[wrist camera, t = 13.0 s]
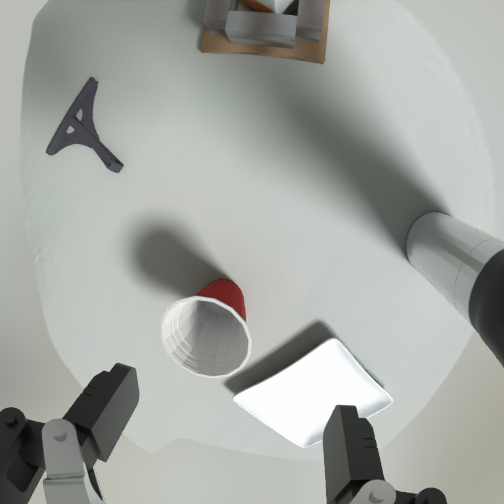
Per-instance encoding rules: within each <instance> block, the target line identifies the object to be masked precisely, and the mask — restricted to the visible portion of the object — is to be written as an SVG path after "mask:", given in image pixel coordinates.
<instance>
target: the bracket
mask: <svg viewBox="0 0 504 504" xmlns="http://www.w3.org/2000/svg"><path fill="white" fill-rule="evenodd" d="M97 83H98V82H96V81H94V78H92V77H91V78H90V79H89V81H88V82H87V84H86V85H85V86H84V88H83V89H82V91H81V92H80V94H79V95H78V97H77V98H76V100H75V101H74V103H73V105H72V106H71V108H70V109H69V111H68V113H67V114H66V116H65V118H64V119H63V121H62V123H61V124H60V126H59V128H58V130H57V131H56V133H55V135H54V137H53V139H52V141H51V142H50V144H49V146H48V148H47V150H46V153H47V154H48V155H51V156H52V155H53V154H56V153H57V152H59V151H60V150H61V149H63V148H64V147H66V146H69V145H72V144H82V145H86V146H88V147H90V148H93V149H94V151H95V152H96V153H97V154H98V156H99V157H100V158H101V160H102V161H103V163H104V164H105V166H106V167H107V168H108V169H109V170H111V171H113V172H115V173H119V172H120V170H121V169H122V167H123V166H124V165H123V164H122V163H121V162H120V161H119V160H118V159H117V158H116V157H115V156H114V155H113V154H112V153H111V152H110V151H109V150H108V149H107V148H106V147H105V146H104V145H103V144H102V143H101V142H100V141H99V137H98V135H97V133H96V130H95V127H94V124H93V119H92V109H93V101H94V97H95V93H96V90H97V87H98V86H97ZM80 108H81V109H82V111H83V116H82V120H81V122H80V121H79V120H78V118H77V117H76V115H77V113H78V111H79V110H80ZM69 126H72V127H73V128H74V129H75V131H74V132H73V133H71V134H68V133H66V131H67V129H68V127H69Z"/></svg>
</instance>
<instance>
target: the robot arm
mask: <svg viewBox="0 0 504 504" xmlns="http://www.w3.org/2000/svg"><path fill="white" fill-rule="evenodd" d="M406 253H407V257H408V259H409V262H410V263H411V265H412V266H413V267H414V268H415V269H416V270H417V271H418V272H419V273H420V274H421V275H422V276H423V277H424V278H425V279H427V280H428V281H429V282H430V283H431V284H432V285H433V286H434V287H435V288H436V289H437V290H438V291H439V292H440V293H441V294H442V295H443V296H444V297H445V298H446V299H447V300H448V301H449V302H450V303H451V304H452V305H453V306H454V307H455V308H456V309H457V311H458V312H459V313H460V314H461V315H462V316H463V317H464V318H465V319H466V320H467V321H468V322H469V323H470V324H471V325H472V326H473V327H474V329H475V330H476V331H477V332H478V333H479V334H480V336H481V338H482V340H483V341H484V342H485V344H486V345H487V346H488V347H489V349H490V350H491V351H492V352H493V353H494V355H495V356H496V358H497V359H498V360H499V362H500V363H501V364H502V366H503V367H504V242H503V241H501V240H499V239H497V238H495V237H493V236H491V235H489V234H487V233H485V232H483V231H481V230H479V229H476V228H474V227H472V226H470V225H468V224H466V223H463V222H461V221H459V220H457V219H455V218H452V217H450V216H448V215H445V214H443V213H439V212H430V213H427V214H425V215H423V216H421V217H420V218H419V219H418V220H416V222H415V223H414V224H413V225H412V227H411V229H410V231H409V233H408V236H407V241H406ZM138 401H139V387H138V381H137V374H136V369H135V368H133V367H130V366H127V365H124V364H121V363H116V364H115V365H114V367H113V368H112V369H111V371H110V372H107V371H103V372H101V373H99V374H97V375H96V376H94V377H93V379H92V380H91V381H90V383H89V384H88V386H86V388H85V389H84V390H83V393H81V394H80V396H79V397H78V398H77V400H76V401H75V402H74V404H73V405H72V406H71V408H70V409H69V410H68V412H67V413H66V414H65V416H64V417H63V418H62V419H53V420H50V421H48V422H47V423H41V422H36V421H32V420H28V419H26V418H25V416H24V414H23V413H22V412H21V411H20V410H19V409H17V408H13V407H10V408H6V409H3V410H2V411H1V412H0V504H28V502H29V500H30V498H31V496H32V494H33V492H34V490H35V488H36V486H37V484H38V483H39V481H40V479H41V477H42V475H43V473H44V471H45V470H46V472H47V478H46V479H44V480H43V487H44V492H45V496H46V502H47V504H106V502H105V499H104V496H103V493H102V490H101V487H100V484H99V480H98V477H97V473H96V470H95V467H94V464H95V462H96V460H97V459H99V460H102V461H104V462H107V460H108V458H109V456H110V454H111V452H112V450H113V449H114V447H115V445H116V443H117V441H118V439H119V437H120V436H121V434H122V432H123V430H124V428H125V426H126V425H127V423H128V421H129V419H130V417H131V415H132V414H133V412H134V410H135V408H136V406H137V404H138ZM323 450H324V464H325V478H326V497H327V504H447V501H446V497H445V495H444V494H443V493H442V492H441V491H440V490H438V489H436V488H426V489H424V490H422V491H421V492H419V493H418V494H414V493H407V492H400V491H397V490H395V489H394V487H393V486H392V485H391V484H390V483H388V482H386V481H385V479H384V475H383V470H382V466H381V461H380V457H379V452H378V448H377V444H376V440H375V435H374V431H373V427H372V426H371V424H370V423H369V422H368V420H367V419H366V418H359V416H358V412H357V408H356V406H355V405H336V406H335V408H334V410H333V412H332V414H331V416H330V418H329V420H328V422H327V424H326V426H325V428H324V432H323Z"/></svg>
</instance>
